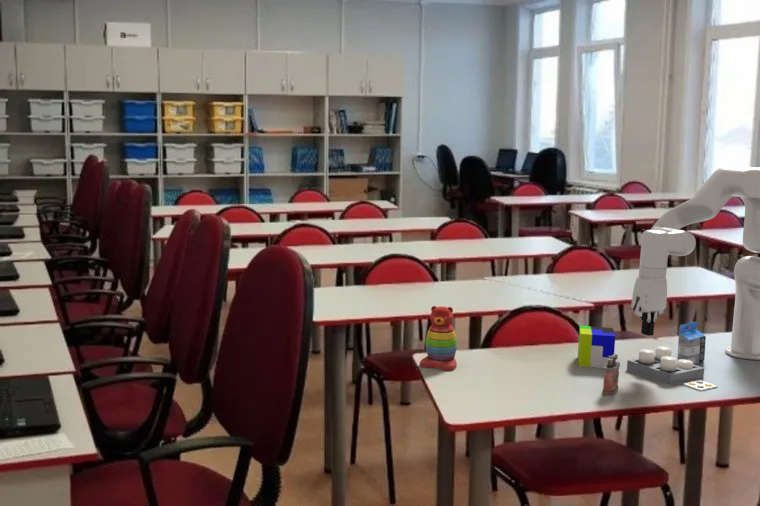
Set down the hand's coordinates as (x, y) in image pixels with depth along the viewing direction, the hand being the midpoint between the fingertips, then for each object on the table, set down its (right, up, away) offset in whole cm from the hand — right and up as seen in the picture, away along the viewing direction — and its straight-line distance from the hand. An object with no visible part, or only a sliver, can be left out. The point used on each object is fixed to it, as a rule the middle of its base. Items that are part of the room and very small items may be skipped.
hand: (647, 334), depth 242 cm
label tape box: (+17, -10, +12) cm, 23 cm away
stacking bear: (-60, -10, +6) cm, 61 cm away
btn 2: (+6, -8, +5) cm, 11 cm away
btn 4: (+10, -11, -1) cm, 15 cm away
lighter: (-15, -14, -16) cm, 26 cm away
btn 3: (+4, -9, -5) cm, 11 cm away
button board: (+5, -12, 0) cm, 13 cm away
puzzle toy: (-12, -10, +11) cm, 19 cm away
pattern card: (+11, -14, -10) cm, 20 cm away
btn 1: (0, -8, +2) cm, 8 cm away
